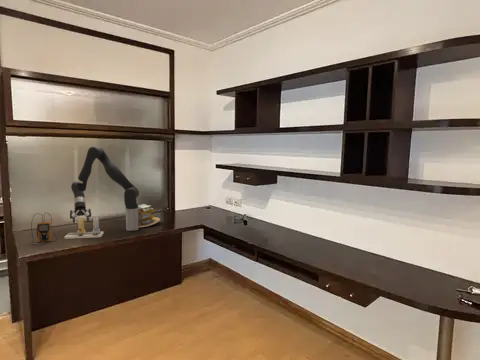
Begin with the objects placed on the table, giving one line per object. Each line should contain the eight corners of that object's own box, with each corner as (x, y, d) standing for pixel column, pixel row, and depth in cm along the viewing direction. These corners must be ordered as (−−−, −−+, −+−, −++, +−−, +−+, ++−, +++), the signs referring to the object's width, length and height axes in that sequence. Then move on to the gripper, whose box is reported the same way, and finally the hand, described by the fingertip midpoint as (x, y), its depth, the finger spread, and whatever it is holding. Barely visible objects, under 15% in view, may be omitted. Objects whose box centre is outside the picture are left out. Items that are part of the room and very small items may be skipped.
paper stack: (131, 229, 257) (130, 208, 255) (127, 222, 279) (127, 203, 277) (162, 226, 267) (162, 206, 265) (156, 219, 290) (156, 201, 288)
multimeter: (29, 246, 214) (27, 216, 211) (32, 241, 223) (31, 213, 221) (55, 243, 219) (53, 214, 217) (57, 239, 228) (55, 211, 226)
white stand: (103, 233, 245) (102, 216, 243) (100, 237, 235) (100, 219, 234) (68, 234, 240) (68, 217, 238) (64, 238, 230) (63, 221, 229)
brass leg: (85, 232, 239) (84, 218, 238) (83, 235, 234) (82, 220, 232) (79, 232, 239) (78, 218, 237) (76, 235, 233) (76, 220, 231)
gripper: (69, 201, 241) (70, 220, 233) (90, 200, 248) (91, 218, 239) (69, 207, 247) (70, 225, 238) (90, 206, 253) (91, 223, 245)
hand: (81, 222), depth 239 cm, fingers open, 8 cm apart
